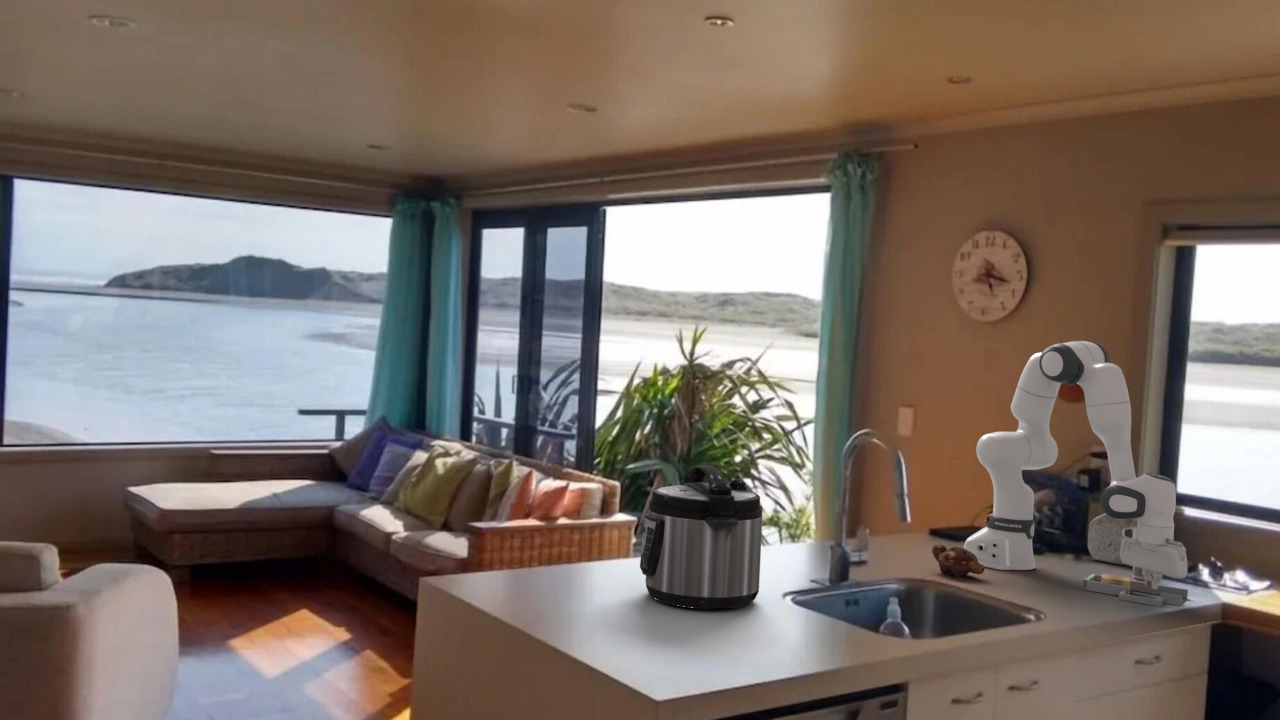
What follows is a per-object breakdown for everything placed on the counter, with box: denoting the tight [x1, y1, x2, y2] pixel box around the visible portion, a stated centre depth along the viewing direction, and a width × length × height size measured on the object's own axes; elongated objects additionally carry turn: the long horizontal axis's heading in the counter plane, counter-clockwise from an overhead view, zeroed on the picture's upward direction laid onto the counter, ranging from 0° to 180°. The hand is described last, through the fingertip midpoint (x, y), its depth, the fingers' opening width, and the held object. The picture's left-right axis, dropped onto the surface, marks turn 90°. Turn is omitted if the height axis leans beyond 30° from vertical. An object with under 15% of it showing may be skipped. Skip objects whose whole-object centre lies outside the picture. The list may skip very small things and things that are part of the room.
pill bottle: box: [1131, 566, 1154, 582], centre depth 317 cm, size 6×6×10 cm
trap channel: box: [1082, 573, 1189, 607], centre depth 299 cm, size 24×16×2 cm, turn 56°
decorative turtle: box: [931, 543, 986, 578], centre depth 313 cm, size 10×15×8 cm, turn 56°
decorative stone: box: [1087, 512, 1138, 568], centre depth 342 cm, size 17×20×10 cm
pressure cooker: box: [639, 464, 763, 610], centre depth 269 cm, size 30×28×32 cm
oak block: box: [1101, 573, 1132, 595], centre depth 303 cm, size 7×6×4 cm
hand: (1151, 587), depth 299 cm, fingers closed
